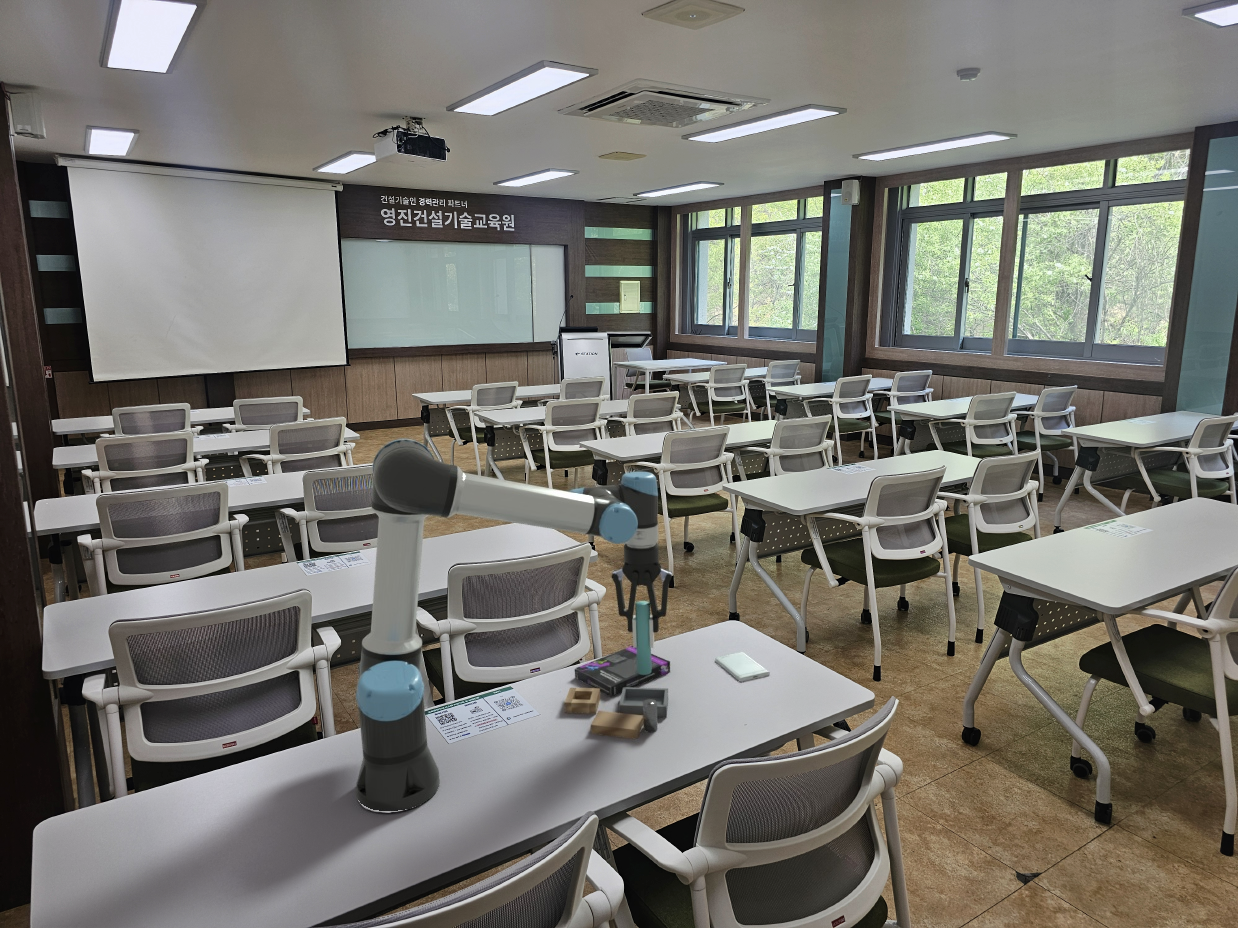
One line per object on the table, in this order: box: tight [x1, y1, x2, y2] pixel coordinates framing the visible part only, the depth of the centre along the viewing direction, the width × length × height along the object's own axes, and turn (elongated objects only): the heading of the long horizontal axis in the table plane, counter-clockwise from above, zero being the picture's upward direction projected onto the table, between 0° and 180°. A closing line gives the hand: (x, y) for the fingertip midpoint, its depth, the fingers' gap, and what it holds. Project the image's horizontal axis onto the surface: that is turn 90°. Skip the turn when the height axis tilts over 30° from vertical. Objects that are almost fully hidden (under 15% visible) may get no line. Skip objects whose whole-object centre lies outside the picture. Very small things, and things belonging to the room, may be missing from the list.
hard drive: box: [714, 651, 771, 683], centre depth 195 cm, size 2×8×12 cm
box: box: [574, 645, 671, 698], centre depth 193 cm, size 14×4×20 cm
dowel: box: [634, 600, 652, 675], centre depth 174 cm, size 3×3×16 cm
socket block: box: [564, 687, 601, 715], centre depth 178 cm, size 7×7×2 cm
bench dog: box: [642, 699, 658, 733], centre depth 167 cm, size 3×3×6 cm
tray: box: [618, 687, 669, 718], centre depth 177 cm, size 10×8×3 cm
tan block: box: [590, 710, 643, 740], centre depth 168 cm, size 10×6×2 cm, turn 75°
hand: (643, 644), depth 174 cm, fingers closed on dowel, 3 cm apart
